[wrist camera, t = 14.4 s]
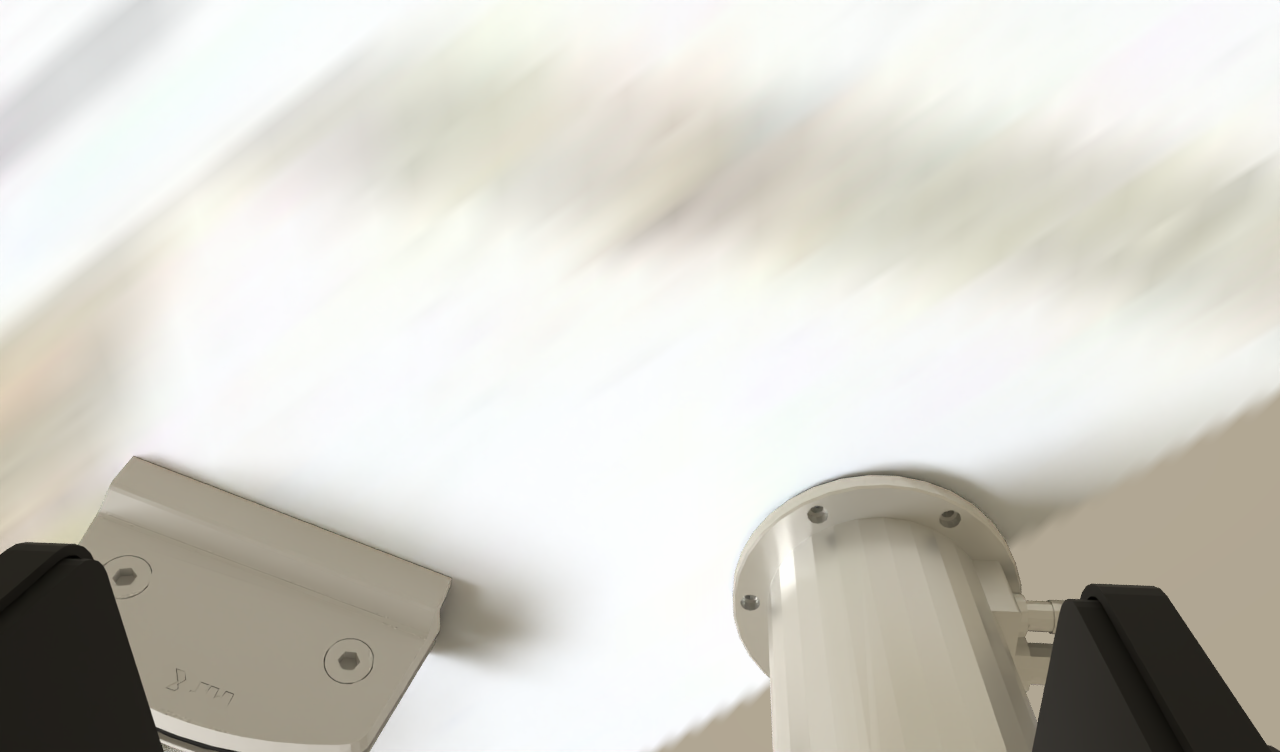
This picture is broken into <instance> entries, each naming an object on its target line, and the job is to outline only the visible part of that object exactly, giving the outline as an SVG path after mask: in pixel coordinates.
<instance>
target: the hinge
mask: <svg viewBox="0 0 1280 752" xmlns="http://www.w3.org/2000/svg"><path fill="white" fill-rule="evenodd" d="M78 545H80V546H84V547H85V548H86V549H87V550H88V551H89V552H90V553H91V555H92V557H93V559H94V560H96V561H99V562H100V563H101V564H102V565H103V566H104V568H105V570H106V572H107V574H108V577H109V581H110V584H111V587H112V590H113V593H114V596H115V600H116V603H117V606H118V609H119V612H120V615H121V618H122V622H123V625H124V628H125V631H126V634H127V637H128V641H129V644H130V647H131V650H132V653H133V656H134V659H135V663H136V666H137V669H138V672H139V675H140V678H141V682H142V685H143V688H144V691H145V694H146V697H147V700H148V704H149V707H150V710H151V713H152V716H153V719H154V723H155V726H156V729H157V732H158V735H159V738H160V741H161V743H163V744H165V745H168V746H171V747H173V748H176V749H178V750H181V751H184V752H370V750H371V748H372V747H373V745H374V743H375V742H376V740H377V738H378V737H379V735H380V733H381V732H382V730H383V728H384V727H385V725H386V723H387V722H388V720H389V718H390V717H391V715H392V713H393V712H394V710H395V709H396V707H397V705H398V704H399V702H400V700H401V699H402V697H403V695H404V694H405V692H406V690H407V689H408V687H409V685H410V684H411V682H412V680H413V679H414V677H415V675H416V674H417V672H418V670H419V669H420V667H421V666H422V664H423V662H424V661H425V659H426V657H427V656H428V654H429V652H430V651H431V649H432V647H433V646H434V644H435V642H436V641H434V639H435V637H436V636H437V634H438V632H439V631H440V609H441V606H442V604H443V602H444V600H445V597H446V595H447V593H448V591H449V588H450V586H451V578H450V577H447V576H445V575H442V574H440V573H437V572H434V571H432V570H429V569H426V568H424V567H421V566H419V565H416V564H413V563H411V562H408V561H406V560H403V559H400V558H398V557H395V556H393V555H390V554H387V553H385V552H382V551H379V550H377V549H374V548H372V547H369V546H366V545H364V544H361V543H359V542H356V541H353V540H351V539H348V538H345V537H343V536H340V535H338V534H335V533H332V532H330V531H327V530H325V529H322V528H319V527H317V526H314V525H312V524H309V523H306V522H304V521H301V520H298V519H296V518H293V517H291V516H288V515H285V514H283V513H280V512H278V511H275V510H272V509H270V508H267V507H265V506H262V505H259V504H257V503H254V502H251V501H249V500H246V499H244V498H241V497H238V496H236V495H233V494H231V493H228V492H225V491H223V490H220V489H218V488H215V487H212V486H210V485H207V484H204V483H202V482H199V481H197V480H194V479H191V478H189V477H186V476H184V475H181V474H178V473H176V472H173V471H171V470H168V469H165V468H163V467H160V466H157V465H155V464H152V463H150V462H147V461H144V460H142V459H139V458H137V457H134V456H133V457H132V458H131V459H130V461H129V462H128V463H127V464H126V465H125V467H124V468H123V469H122V470H121V471H120V472H119V474H118V475H117V476H116V477H115V478H114V480H113V481H112V483H111V485H110V486H109V489H108V491H107V493H106V495H105V498H104V500H103V502H102V505H101V507H100V509H99V511H98V513H97V515H96V517H95V518H94V520H93V522H92V523H91V525H90V527H89V528H88V530H87V531H86V533H85V535H84V536H83V538H82V539H81V541H80V543H79V544H78Z"/></svg>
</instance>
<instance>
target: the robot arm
mask: <svg viewBox="0 0 1280 752" xmlns="http://www.w3.org/2000/svg"><path fill="white" fill-rule="evenodd" d="M815 506H820V507H818V508H814V507H815ZM945 511H947V512H945ZM733 613H734V620H735V623H736V627H737V630H738V634H739V637H740V639H741V641H742V643H743V645H744V647H745V649H746V650H747V652H748V654H749V656H750V657H751V658H752V660H753V661H754V662H755V663H756V664H757V666H758V667H759V668H760V669H761V670H762V671H763V673H764V674H766V675H767V676H768V677H769V678H770V689H771V713H772V739H773V752H1280V751H1279V750H1277V749H1276V748H1274V747H1272V746H1269V745H1267V744H1266V743H1265V741H1264V740H1263V738H1262V737H1261V736H1260V734H1259V732H1258V731H1257V729H1256V728H1255V727H1254V725H1253V724H1252V722H1251V721H1250V719H1249V718H1248V716H1247V715H1246V713H1245V712H1244V710H1243V709H1242V707H1241V706H1240V704H1239V703H1238V701H1237V700H1236V698H1235V697H1234V695H1233V694H1232V692H1231V691H1230V689H1229V688H1228V686H1227V685H1226V683H1225V682H1224V680H1223V679H1222V677H1221V676H1220V674H1219V673H1218V671H1217V670H1216V668H1215V667H1214V665H1213V664H1212V662H1211V661H1210V659H1209V658H1208V656H1207V655H1206V654H1205V652H1204V650H1203V649H1202V647H1201V646H1200V645H1199V643H1198V641H1197V640H1196V639H1195V637H1194V636H1193V634H1192V633H1191V631H1190V630H1189V628H1188V627H1187V625H1186V624H1185V622H1184V621H1183V619H1182V618H1181V616H1180V615H1179V613H1178V612H1177V610H1176V609H1175V607H1174V606H1173V604H1172V603H1171V601H1170V600H1169V598H1168V597H1167V596H1166V594H1165V593H1164V592H1163V591H1162V590H1161V589H1160V588H1157V587H1154V586H1138V585H1136V586H1135V585H1112V584H1090V585H1088V586H1086V588H1085V589H1084V591H1083V592H1082V595H1081V598H1080V599H1067V600H1065V601H1061V600H1048V601H1046V602H1045V601H1026V600H1025V597H1024V596H1023V595H1022V594H1021V582H1020V578H1019V574H1018V570H1017V567H1016V563H1015V561H1014V558H1013V556H1012V554H1011V552H1010V550H1009V547H1008V545H1007V543H1006V541H1005V540H1004V538H1003V537H1002V535H1001V534H1000V532H999V531H998V530H997V528H996V527H995V525H994V524H993V522H992V521H991V520H990V519H988V518H987V517H986V516H985V515H984V514H983V513H982V512H981V511H980V510H979V509H978V508H977V507H976V506H974V505H973V504H972V503H970V502H968V501H967V500H965V499H963V498H962V497H960V496H958V495H957V494H955V493H954V492H952V491H950V490H947V489H944V488H942V487H939V486H937V485H934V484H931V483H929V482H926V481H921V480H916V479H911V478H906V477H901V476H883V475H866V476H859V477H851V478H844V479H839V480H835V481H832V482H829V483H826V484H822V485H819V486H816V487H813V488H811V489H809V490H807V491H805V492H803V493H801V494H799V495H797V496H795V497H793V498H791V499H789V500H788V501H787V502H785V503H784V504H783V505H781V506H780V507H779V508H777V509H776V510H775V511H773V512H772V513H771V514H769V515H768V516H767V518H766V519H765V520H764V521H763V522H762V523H761V524H760V525H759V526H758V528H757V529H756V530H755V531H754V532H753V533H752V535H751V537H750V538H749V540H748V542H747V543H746V545H745V547H744V549H743V550H742V552H741V555H740V558H739V561H738V564H737V567H736V570H735V573H734V585H733ZM1027 631H1038V632H1049V633H1050V634H1055V638H1054V642H1053V644H1044V643H1043V644H1041V643H1027V641H1026V638H1025V636H1026V633H1027ZM1030 685H1045V688H1044V693H1043V698H1042V703H1041V708H1040V713H1039V718H1038V723H1037V720H1036V717H1035V715H1034V712H1033V710H1032V707H1031V705H1030V702H1029V699H1028V697H1027V694H1026V692H1027V691H1028V690H1029V687H1030ZM0 752H164V751H163V748H162V745H161V741H160V738H159V735H158V732H157V729H156V726H155V723H154V719H153V716H152V713H151V710H150V707H149V704H148V700H147V697H146V694H145V691H144V688H143V685H142V682H141V678H140V675H139V672H138V669H137V666H136V663H135V659H134V656H133V653H132V650H131V647H130V644H129V641H128V637H127V634H126V631H125V628H124V625H123V622H122V618H121V615H120V612H119V609H118V606H117V603H116V600H115V596H114V593H113V590H112V587H111V584H110V581H109V577H108V574H107V572H106V570H105V568H104V566H103V565H102V564H101V563H100V562H99V561H96V560H94V559H93V557H92V555H91V553H90V552H89V551H88V550H87V549H86V548H85V547H84V546H80V545H76V544H59V543H33V542H25V543H19V544H16V545H14V546H12V547H10V548H9V549H7V550H6V551H4V552H3V553H2V554H1V555H0Z"/></svg>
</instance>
